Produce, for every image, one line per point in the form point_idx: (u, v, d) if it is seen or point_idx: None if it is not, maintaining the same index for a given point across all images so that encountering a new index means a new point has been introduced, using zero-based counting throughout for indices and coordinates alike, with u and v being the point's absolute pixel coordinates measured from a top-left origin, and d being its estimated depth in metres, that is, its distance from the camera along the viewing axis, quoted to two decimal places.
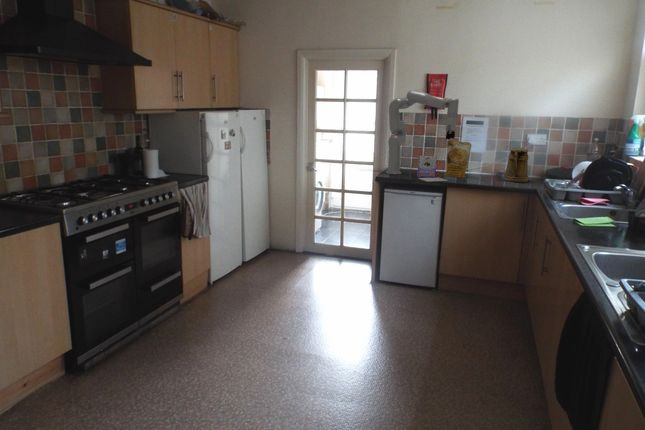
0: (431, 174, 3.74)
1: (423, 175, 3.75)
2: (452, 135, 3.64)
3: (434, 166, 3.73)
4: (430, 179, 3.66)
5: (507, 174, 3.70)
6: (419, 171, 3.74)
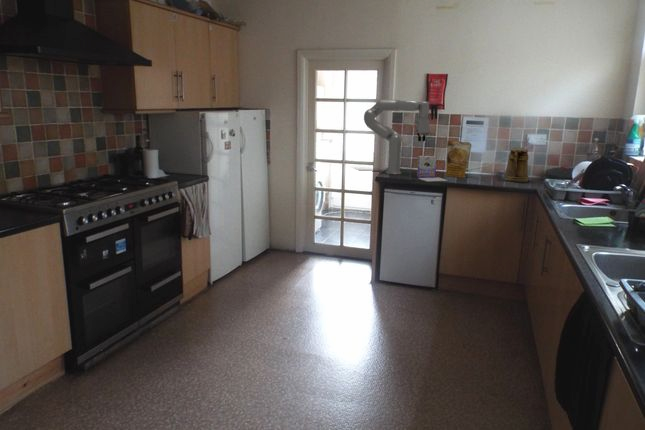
0: (431, 174, 3.74)
1: (423, 175, 3.75)
2: None
3: (434, 166, 3.72)
4: (430, 179, 3.66)
5: (507, 174, 3.70)
6: (419, 171, 3.74)
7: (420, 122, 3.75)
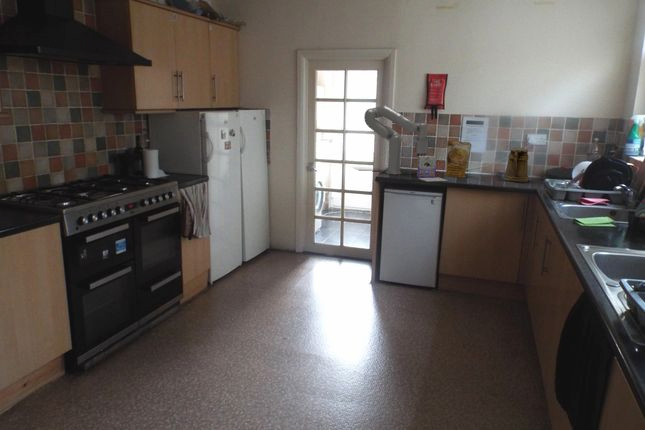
0: (431, 174, 3.74)
1: (423, 175, 3.75)
2: None
3: (434, 166, 3.72)
4: (430, 179, 3.66)
5: (507, 174, 3.70)
6: (419, 171, 3.74)
7: (419, 143, 3.79)
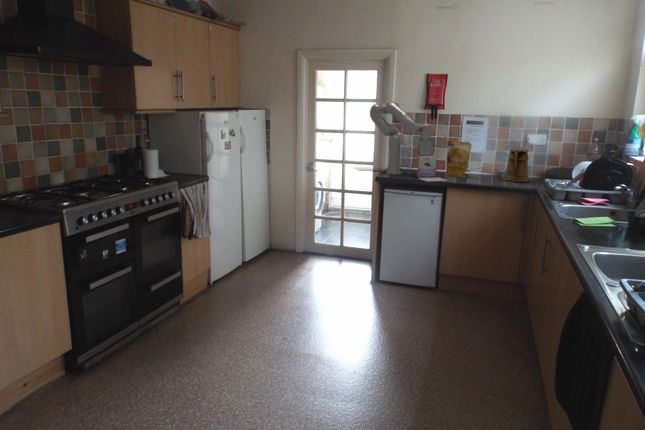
0: (431, 174, 3.74)
1: (423, 175, 3.75)
2: None
3: (434, 166, 3.72)
4: (430, 179, 3.66)
5: (507, 174, 3.70)
6: (419, 171, 3.74)
7: (422, 144, 3.74)
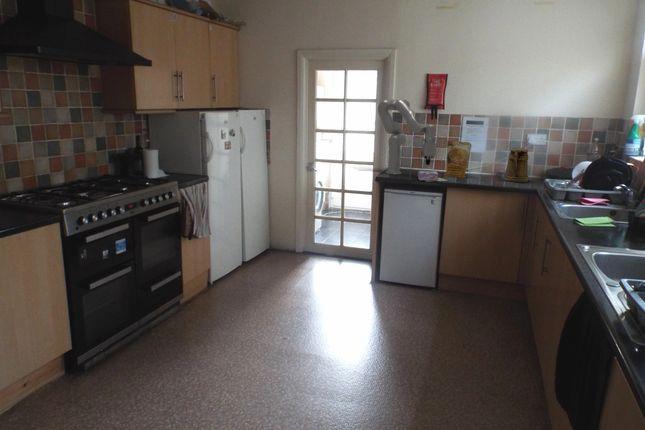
0: None
1: None
2: None
3: None
4: None
5: (507, 174, 3.70)
6: None
7: (426, 146, 3.67)
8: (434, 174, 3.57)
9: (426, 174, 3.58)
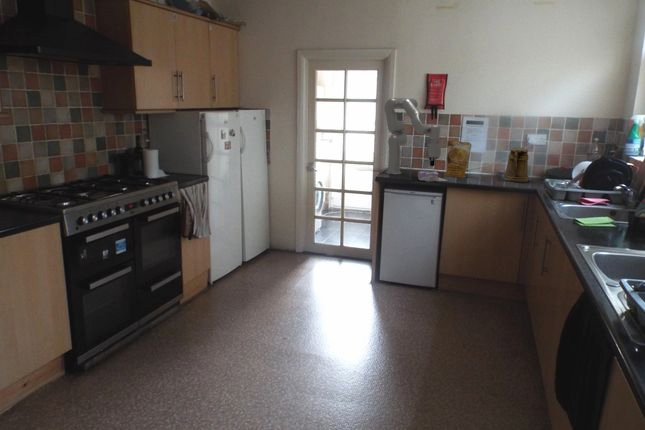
0: None
1: None
2: None
3: None
4: None
5: (507, 174, 3.70)
6: None
7: (431, 146, 3.61)
8: (434, 174, 3.57)
9: (426, 174, 3.58)
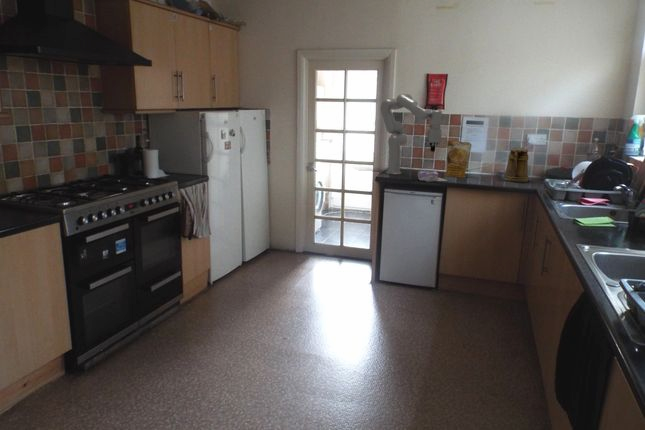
0: None
1: None
2: None
3: None
4: None
5: (507, 174, 3.70)
6: None
7: (432, 132, 3.58)
8: (434, 174, 3.57)
9: (426, 174, 3.58)
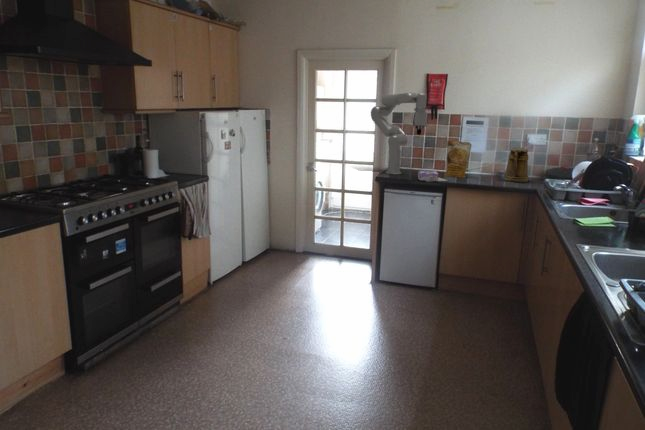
0: None
1: None
2: None
3: None
4: None
5: (507, 174, 3.70)
6: None
7: (417, 115, 3.62)
8: (434, 174, 3.57)
9: (426, 174, 3.58)
